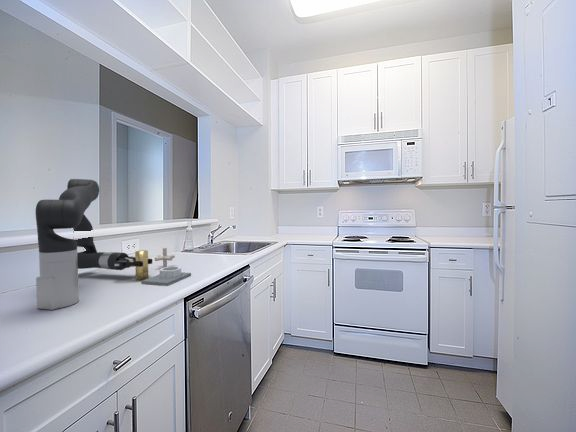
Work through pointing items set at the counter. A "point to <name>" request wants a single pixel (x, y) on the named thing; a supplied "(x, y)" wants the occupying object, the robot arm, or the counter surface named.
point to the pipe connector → (164, 257)
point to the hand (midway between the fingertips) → (147, 262)
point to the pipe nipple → (142, 271)
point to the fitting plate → (164, 280)
